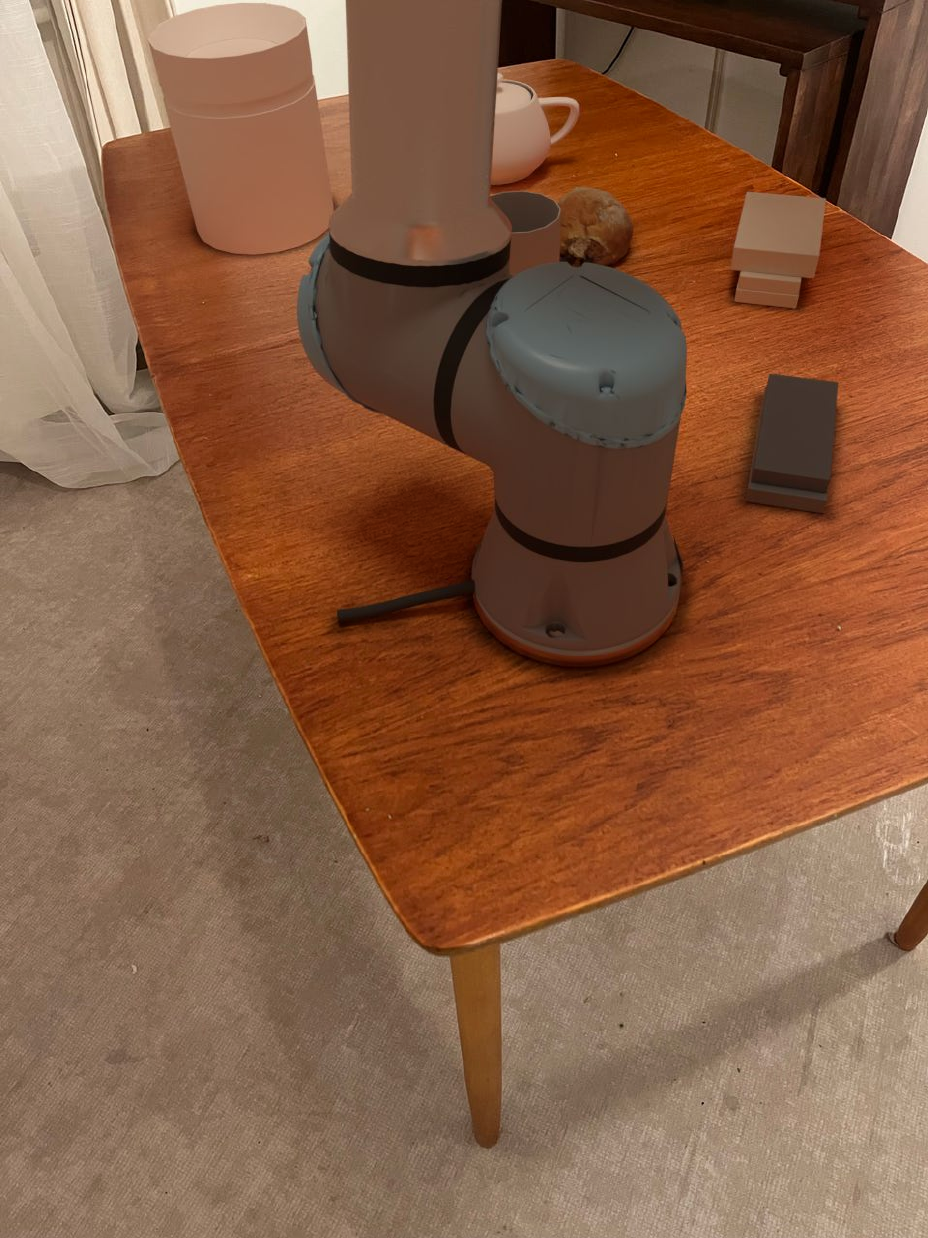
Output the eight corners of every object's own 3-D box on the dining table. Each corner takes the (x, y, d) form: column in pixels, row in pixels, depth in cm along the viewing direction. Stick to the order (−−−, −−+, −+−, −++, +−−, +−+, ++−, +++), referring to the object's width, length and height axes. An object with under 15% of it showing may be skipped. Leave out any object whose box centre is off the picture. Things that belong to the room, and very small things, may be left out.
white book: (813, 278, 95) (819, 255, 93) (729, 269, 97) (733, 246, 95) (821, 220, 103) (826, 197, 101) (742, 213, 104) (746, 190, 103)
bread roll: (636, 282, 108) (661, 207, 104) (585, 280, 101) (611, 198, 97) (566, 254, 113) (588, 181, 109) (513, 250, 105) (534, 171, 101)
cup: (550, 333, 96) (553, 235, 88) (468, 327, 97) (463, 230, 90) (562, 288, 101) (565, 192, 94) (484, 283, 103) (481, 188, 95)
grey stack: (822, 513, 77) (831, 486, 75) (745, 501, 79) (751, 474, 77) (832, 408, 86) (839, 381, 84) (762, 399, 87) (768, 372, 85)
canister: (190, 201, 118) (142, 15, 103) (321, 179, 121) (292, -6, 106) (205, 265, 108) (153, 68, 93) (347, 239, 110) (319, 43, 95)
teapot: (568, 138, 125) (571, 45, 117) (586, 186, 116) (591, 89, 108) (396, 153, 125) (388, 60, 117) (401, 202, 116) (392, 106, 107)
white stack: (795, 308, 97) (801, 282, 95) (734, 301, 98) (738, 276, 96) (805, 240, 106) (811, 215, 103) (748, 234, 107) (753, 209, 105)
